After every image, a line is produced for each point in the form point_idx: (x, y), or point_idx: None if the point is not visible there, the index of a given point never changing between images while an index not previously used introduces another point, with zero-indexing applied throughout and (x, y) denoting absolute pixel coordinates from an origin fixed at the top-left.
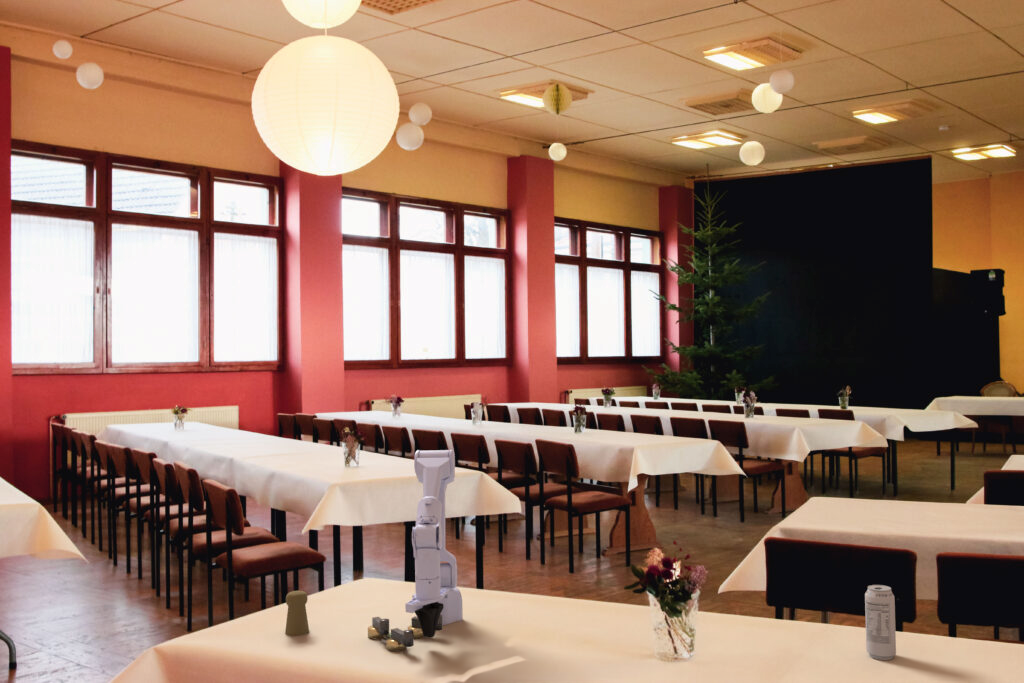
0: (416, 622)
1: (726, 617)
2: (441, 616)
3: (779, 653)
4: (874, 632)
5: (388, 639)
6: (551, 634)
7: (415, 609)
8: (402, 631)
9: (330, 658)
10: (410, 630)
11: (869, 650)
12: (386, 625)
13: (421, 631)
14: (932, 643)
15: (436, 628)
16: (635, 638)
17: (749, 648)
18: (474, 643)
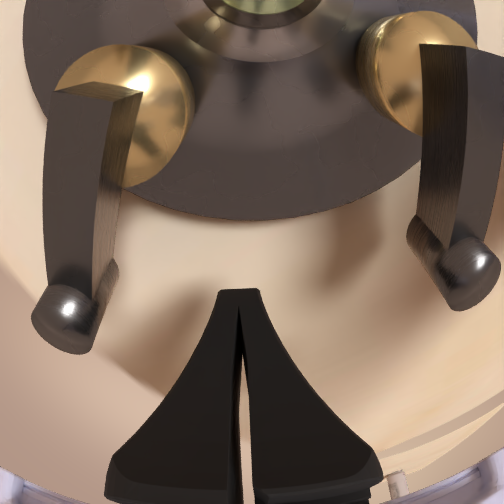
0: (447, 91)
1: (493, 413)
2: (463, 308)
3: (396, 464)
4: (391, 489)
5: (78, 74)
6: (471, 370)
7: (61, 500)
8: (81, 225)
9: None
10: (76, 336)
11: (392, 477)
12: None
13: (404, 127)
14: (420, 466)
15: (413, 245)
16: (440, 422)
17: (407, 457)
18: (412, 307)
